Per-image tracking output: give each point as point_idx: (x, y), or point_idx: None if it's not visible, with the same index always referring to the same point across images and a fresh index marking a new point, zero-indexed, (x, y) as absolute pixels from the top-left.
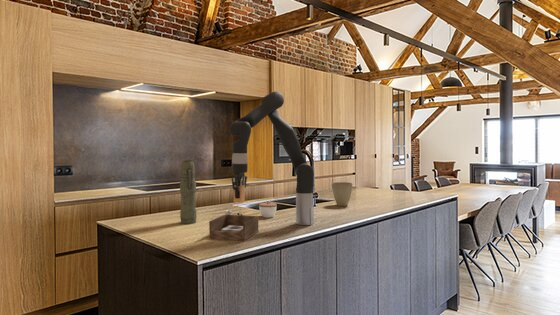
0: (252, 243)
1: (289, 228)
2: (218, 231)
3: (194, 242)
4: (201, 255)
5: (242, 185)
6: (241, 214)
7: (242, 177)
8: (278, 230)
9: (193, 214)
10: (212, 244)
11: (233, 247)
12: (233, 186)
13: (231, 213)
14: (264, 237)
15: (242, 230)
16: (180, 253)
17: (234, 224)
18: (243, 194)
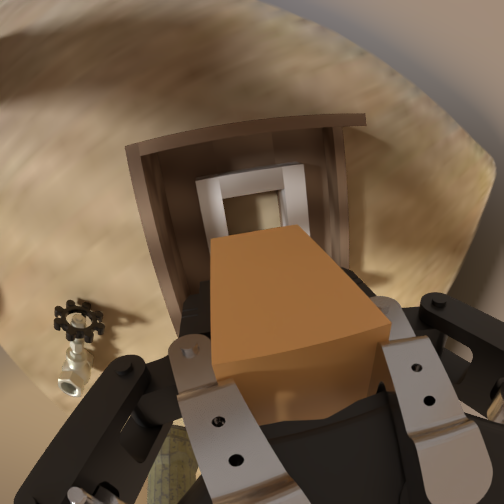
0: (348, 74)
1: (38, 67)
2: (348, 248)
3: (393, 279)
4: (477, 179)
5: (280, 374)
6: (58, 324)
7: (451, 493)
8: (84, 80)
9: (172, 448)
10: (403, 211)
11: (412, 123)
12: (460, 358)
13: (65, 372)
14: (237, 63)
15: (269, 167)
16: (472, 237)
17: (180, 273)
18: (255, 265)
